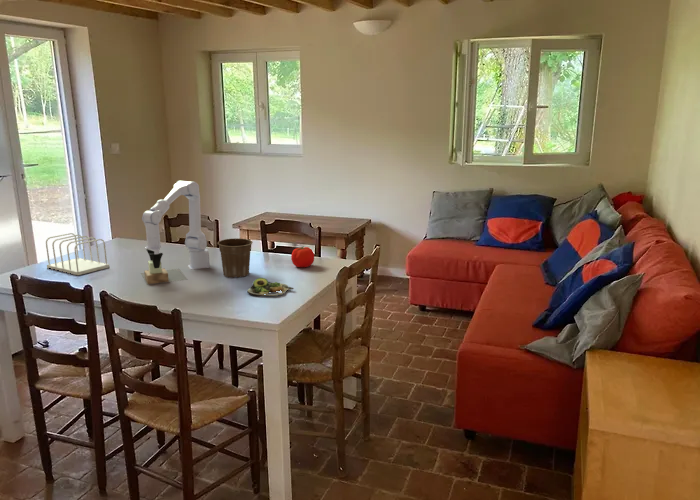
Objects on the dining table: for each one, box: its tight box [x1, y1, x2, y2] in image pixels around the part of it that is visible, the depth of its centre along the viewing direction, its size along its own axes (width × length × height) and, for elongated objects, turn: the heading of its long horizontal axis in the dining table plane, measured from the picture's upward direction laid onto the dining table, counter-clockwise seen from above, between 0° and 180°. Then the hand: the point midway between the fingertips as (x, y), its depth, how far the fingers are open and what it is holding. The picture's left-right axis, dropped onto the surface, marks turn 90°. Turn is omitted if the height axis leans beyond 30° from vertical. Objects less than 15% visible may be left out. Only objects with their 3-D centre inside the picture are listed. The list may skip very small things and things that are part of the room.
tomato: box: [290, 245, 315, 268], centre depth 280 cm, size 12×12×10 cm
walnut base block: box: [143, 267, 170, 285], centre depth 255 cm, size 9×9×4 cm
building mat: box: [140, 268, 188, 285], centre depth 262 cm, size 18×20×1 cm
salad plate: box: [246, 277, 295, 297], centre depth 243 cm, size 19×18×5 cm
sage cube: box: [147, 260, 163, 274], centre depth 254 cm, size 5×5×5 cm
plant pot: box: [217, 237, 253, 279], centre depth 265 cm, size 16×16×16 cm
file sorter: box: [45, 232, 110, 276], centre depth 274 cm, size 25×17×16 cm
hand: (155, 265), depth 254 cm, fingers open, 7 cm apart
